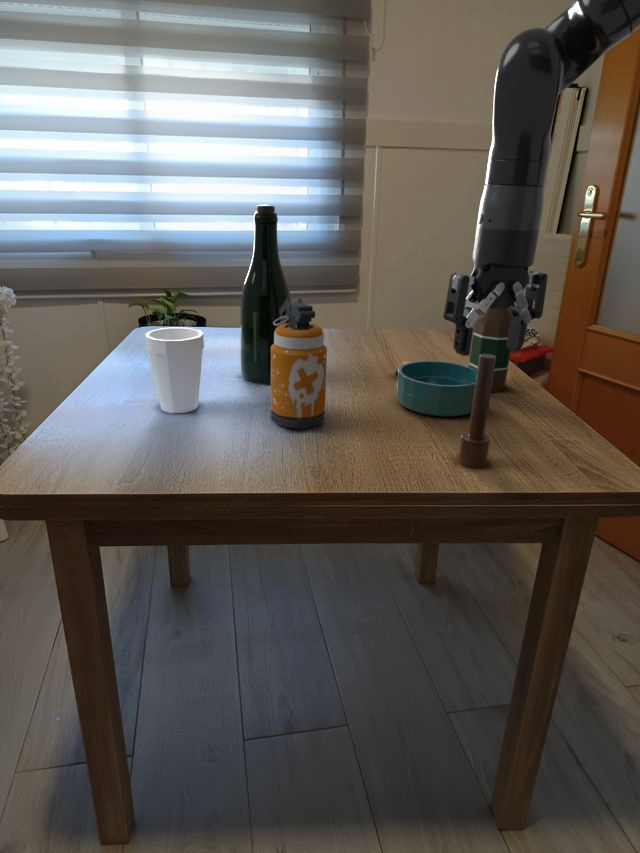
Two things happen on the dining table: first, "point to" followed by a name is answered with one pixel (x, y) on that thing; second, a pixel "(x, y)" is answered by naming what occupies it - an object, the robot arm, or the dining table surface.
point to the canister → (298, 368)
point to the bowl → (436, 388)
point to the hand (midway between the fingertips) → (488, 351)
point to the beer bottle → (492, 343)
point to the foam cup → (176, 366)
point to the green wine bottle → (262, 298)
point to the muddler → (478, 417)
